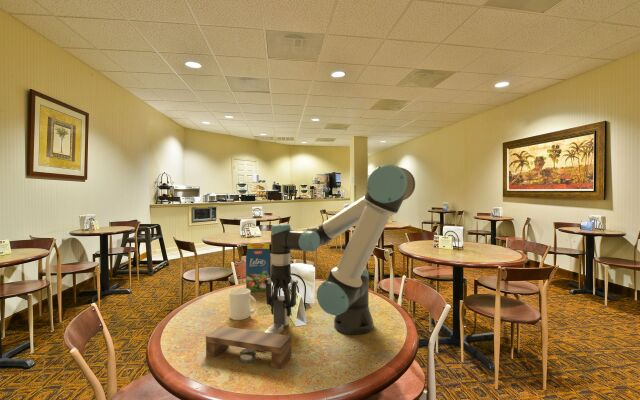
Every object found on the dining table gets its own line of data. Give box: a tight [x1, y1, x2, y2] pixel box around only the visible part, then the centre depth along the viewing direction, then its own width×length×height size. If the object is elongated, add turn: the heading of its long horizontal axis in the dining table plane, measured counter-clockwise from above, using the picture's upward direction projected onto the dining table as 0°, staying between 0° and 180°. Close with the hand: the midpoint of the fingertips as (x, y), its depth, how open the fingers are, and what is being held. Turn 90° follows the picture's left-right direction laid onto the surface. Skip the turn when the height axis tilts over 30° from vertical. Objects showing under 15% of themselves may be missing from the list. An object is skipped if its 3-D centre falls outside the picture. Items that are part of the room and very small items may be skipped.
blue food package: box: [245, 243, 272, 292], centre depth 166 cm, size 6×12×25 cm, turn 89°
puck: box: [239, 348, 257, 364], centre depth 95 cm, size 5×5×2 cm
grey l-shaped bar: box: [264, 295, 287, 334], centre depth 112 cm, size 21×4×11 cm, turn 163°
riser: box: [205, 325, 292, 370], centre depth 98 cm, size 26×8×6 cm, turn 73°
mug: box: [228, 287, 258, 321], centre depth 129 cm, size 9×12×11 cm
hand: (281, 323), depth 119 cm, fingers closed on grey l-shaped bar, 4 cm apart
